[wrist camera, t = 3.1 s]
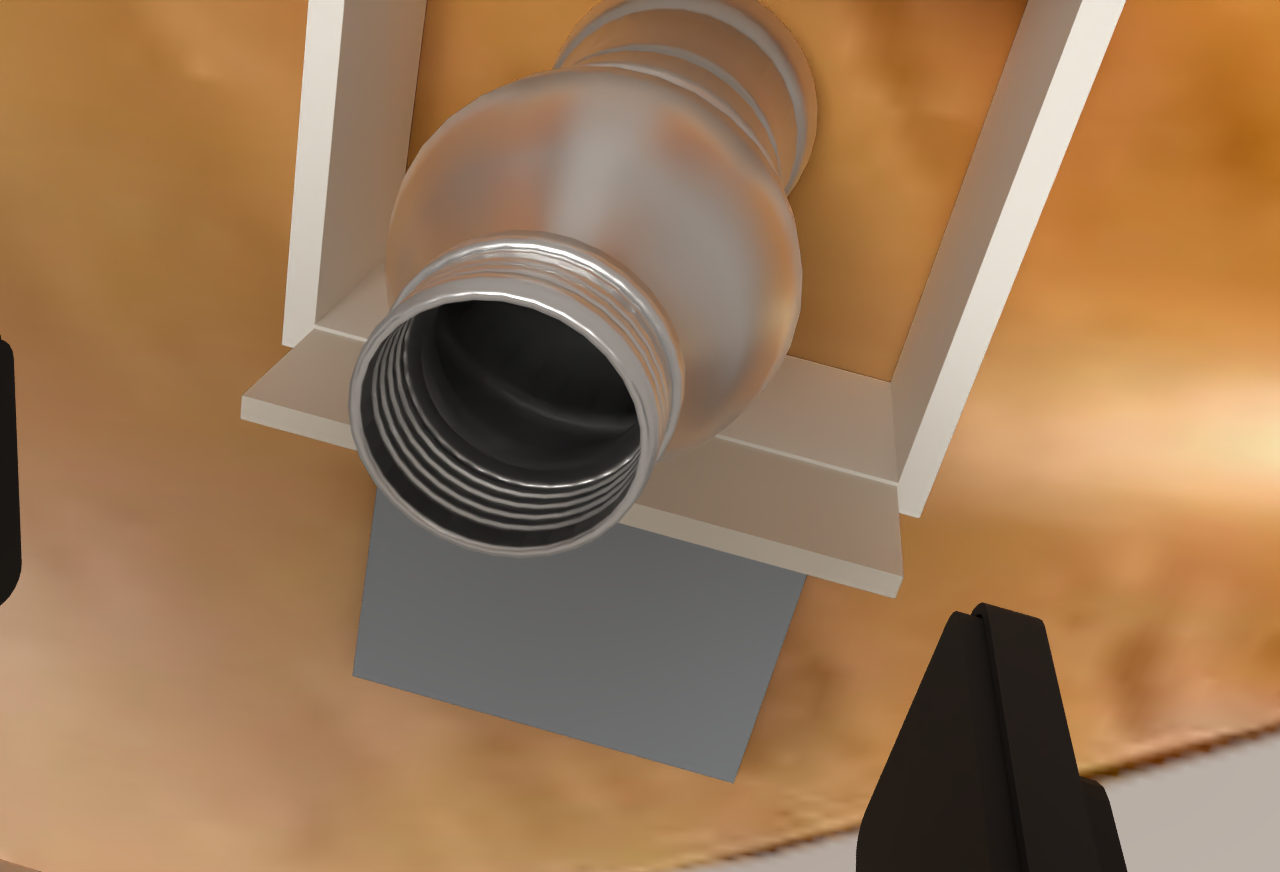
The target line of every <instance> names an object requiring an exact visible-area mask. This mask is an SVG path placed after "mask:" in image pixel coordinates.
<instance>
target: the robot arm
mask: <svg viewBox="0 0 1280 872" xmlns="http://www.w3.org/2000/svg"><path fill="white" fill-rule="evenodd" d="M21 565H22V559H21V533H20V507H19V481H18V455H17V429H16V403H15V377H14V357H13V351H12V349H11V347H10V345H9V344H8V343H7V342H5V341H4V340H1V335H0V605H2V604H3V603H4V602H5V601H6V600H7V599H8V597H9V596H10V595H11V593H12V592H13V590H14V589H15V587H16V584H17V582H18V580H19V577H20V573H21ZM0 872H40V871H37V870H34V869H31V868H27V867H24V866H21V865H18V864H14V863H11V862H8V861H5V860H1V859H0ZM856 872H1127V868H1126V864H1125V860H1124V856H1123V853H1122V849H1121V845H1120V841H1119V837H1118V833H1117V829H1116V825H1115V821H1114V817H1113V813H1112V809H1111V806H1110V802H1109V799H1108V797H1107V794H1106V792H1105V789H1104V787H1103V786H1101V785H1100V784H1099V783H1098V782H1097V781H1095V780H1091V779H1088V778H1084V777H1081V776H1079V772H1078V768H1077V764H1076V759H1075V755H1074V751H1073V746H1072V742H1071V738H1070V733H1069V729H1068V725H1067V720H1066V716H1065V712H1064V707H1063V703H1062V699H1061V694H1060V690H1059V686H1058V681H1057V677H1056V673H1055V668H1054V664H1053V659H1052V655H1051V651H1050V646H1049V642H1048V638H1047V633H1046V629H1045V626H1044V623H1043V621H1042V620H1040V619H1039V618H1036V617H1032V616H1029V615H1025V614H1022V613H1018V612H1014V611H1011V610H1007V609H1004V608H1000V607H997V606H993V605H990V604H986V603H983V602H982V603H980V604H978V605H977V606H976V607H975V609H974V610H973V611H972V613H971V615H969V614H965V613H962V612H958V611H955V612H953V614H952V615H951V616H950V618H949V620H948V622H947V624H946V626H945V628H944V630H943V633H942V635H941V637H940V640H939V642H938V644H937V647H936V649H935V651H934V654H933V656H932V658H931V661H930V663H929V665H928V668H927V670H926V672H925V674H924V677H923V679H922V681H921V684H920V686H919V688H918V691H917V693H916V695H915V698H914V700H913V702H912V705H911V707H910V709H909V712H908V714H907V716H906V719H905V721H904V723H903V725H902V728H901V730H900V732H899V735H898V737H897V739H896V742H895V744H894V746H893V749H892V751H891V753H890V756H889V758H888V760H887V763H886V765H885V767H884V769H883V772H882V774H881V776H880V779H879V781H878V783H877V786H876V788H875V790H874V793H873V795H872V797H871V800H870V802H869V804H868V807H867V809H866V811H865V814H864V817H863V819H862V823H861V827H860V831H859V835H858V841H857V850H856Z"/></svg>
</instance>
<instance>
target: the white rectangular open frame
mask: <svg viewBox="0 0 1280 872" xmlns="http://www.w3.org/2000/svg"><path fill="white" fill-rule="evenodd" d="M1125 1H1126V0H1028V3H1027V5H1026V8H1025V11H1024V14H1023V16H1022V19H1021V22H1020V25H1019V28H1018V30H1017V33H1016V36H1015V39H1014V41H1013V44H1012V47H1011V50H1010V52H1009V55H1008V58H1007V61H1006V64H1005V66H1004V69H1003V72H1002V75H1001V77H1000V80H999V83H998V86H997V89H996V91H995V94H994V97H993V100H992V102H991V105H990V108H989V111H988V114H987V116H986V119H985V122H984V125H983V127H982V130H981V133H980V136H979V138H978V141H977V144H976V147H975V150H974V152H973V155H972V158H971V161H970V163H969V166H968V169H967V172H966V175H965V177H964V180H963V183H962V186H961V188H960V191H959V194H958V197H957V200H956V202H955V205H954V208H953V211H952V213H951V216H950V219H949V222H948V224H947V227H946V230H945V233H944V236H943V238H942V241H941V244H940V247H939V249H938V252H937V255H936V258H935V261H934V263H933V266H932V269H931V272H930V274H929V277H928V280H927V283H926V286H925V288H924V291H923V294H922V297H921V299H920V302H919V305H918V308H917V310H916V313H915V316H914V319H913V322H912V324H911V327H910V330H909V333H908V335H907V338H906V341H905V344H904V347H903V349H902V352H901V355H900V358H899V360H898V363H897V366H896V369H895V372H894V374H893V377H892V380H891V383H890V382H887V381H883V380H879V379H875V378H872V377H868V376H864V375H860V374H857V373H853V372H849V371H846V370H842V369H838V368H834V367H831V366H827V365H823V364H819V363H816V362H812V361H808V360H804V359H801V358H797V357H793V356H790V355H786V356H785V358H784V360H783V362H782V363H781V365H780V367H779V369H778V371H777V373H776V375H775V376H774V378H773V380H772V381H771V382H770V383H769V384H768V386H767V387H766V388H765V389H764V390H763V391H762V393H761V394H760V395H759V396H758V397H757V398H756V400H755V401H754V402H753V403H752V404H751V406H750V407H749V408H748V409H746V410H745V411H744V412H743V413H742V414H741V415H740V416H739V417H738V418H737V419H736V420H734V421H733V422H732V423H731V424H729V425H728V426H727V427H726V428H724V429H723V430H722V431H720V432H719V433H718V434H717V435H715V436H714V437H713V438H711V439H710V440H709V441H708V442H706V443H705V444H703V445H701V446H699V447H697V448H695V449H693V450H691V451H689V452H686V453H684V454H682V455H680V456H678V457H676V458H674V459H671V460H667V461H664V462H660V463H657V464H655V465H654V468H653V471H652V474H651V476H650V478H649V480H648V482H647V484H646V486H645V488H644V490H643V492H642V494H641V496H640V497H639V498H638V499H637V501H636V502H635V503H634V504H633V505H632V507H631V508H630V509H629V510H628V512H627V513H626V514H625V515H624V516H623V518H622V519H621V520H620V521H619V522H618V523H621V524H625V525H628V526H632V527H636V528H639V529H643V530H647V531H650V532H654V533H657V534H661V535H665V536H668V537H672V538H676V539H679V540H683V541H687V542H690V543H694V544H697V545H701V546H705V547H708V548H712V549H716V550H719V551H723V552H727V553H730V554H734V555H737V556H741V557H745V558H748V559H752V560H756V561H759V562H763V563H767V564H770V565H774V566H778V567H781V568H785V569H788V570H792V571H796V572H799V573H803V574H807V575H810V576H814V577H818V578H821V579H825V580H828V581H832V582H836V583H839V584H843V585H847V586H850V587H854V588H858V589H861V590H865V591H868V592H872V593H876V594H879V595H883V596H887V597H890V598H894V599H895V597H896V595H897V592H898V590H899V587H900V585H901V582H902V580H903V577H904V574H903V561H902V547H901V534H900V521H899V513H901V514H905V515H909V516H912V517H916V518H920V515H921V513H922V510H923V508H924V505H925V503H926V500H927V498H928V495H929V493H930V490H931V488H932V485H933V483H934V480H935V478H936V475H937V473H938V470H939V468H940V465H941V463H942V460H943V458H944V455H945V453H946V450H947V448H948V445H949V443H950V440H951V438H952V435H953V433H954V430H955V428H956V425H957V423H958V420H959V418H960V415H961V413H962V410H963V408H964V405H965V403H966V400H967V398H968V395H969V393H970V390H971V388H972V385H973V382H974V380H975V377H976V375H977V372H978V370H979V367H980V365H981V362H982V360H983V357H984V355H985V352H986V350H987V347H988V345H989V342H990V340H991V337H992V335H993V332H994V330H995V327H996V325H997V322H998V320H999V317H1000V315H1001V312H1002V310H1003V307H1004V305H1005V302H1006V300H1007V297H1008V295H1009V292H1010V290H1011V287H1012V285H1013V282H1014V280H1015V277H1016V275H1017V272H1018V270H1019V267H1020V265H1021V262H1022V260H1023V257H1024V255H1025V252H1026V250H1027V247H1028V245H1029V242H1030V240H1031V237H1032V235H1033V232H1034V230H1035V227H1036V224H1037V222H1038V219H1039V217H1040V214H1041V212H1042V209H1043V207H1044V204H1045V202H1046V199H1047V197H1048V194H1049V192H1050V189H1051V187H1052V184H1053V182H1054V179H1055V177H1056V174H1057V172H1058V169H1059V167H1060V164H1061V162H1062V159H1063V157H1064V154H1065V152H1066V149H1067V147H1068V144H1069V142H1070V139H1071V137H1072V134H1073V132H1074V129H1075V127H1076V124H1077V122H1078V119H1079V117H1080V114H1081V112H1082V109H1083V107H1084V104H1085V102H1086V99H1087V97H1088V94H1089V92H1090V89H1091V87H1092V84H1093V82H1094V79H1095V77H1096V74H1097V72H1098V69H1099V67H1100V64H1101V61H1102V59H1103V56H1104V54H1105V51H1106V49H1107V46H1108V44H1109V41H1110V39H1111V36H1112V34H1113V31H1114V29H1115V26H1116V24H1117V21H1118V19H1119V16H1120V14H1121V11H1122V9H1123V6H1124V4H1125ZM426 3H427V0H309V4H308V16H307V29H306V42H305V55H304V68H303V81H302V93H301V106H300V119H299V132H298V145H297V157H296V170H295V183H294V196H293V209H292V222H291V234H290V247H289V260H288V273H287V286H286V298H285V311H284V324H283V337H282V345H284V346H288V347H292V349H291V350H290V351H289V352H288V353H287V354H286V355H285V356H284V357H283V358H282V359H281V360H279V361H278V362H277V363H276V364H275V365H274V366H273V367H272V368H271V369H270V370H269V371H268V372H267V373H265V374H264V375H263V376H262V377H261V378H260V379H259V380H258V381H257V382H256V383H255V384H254V385H252V386H251V387H250V388H249V389H248V390H247V391H246V392H245V393H244V394H243V395H242V401H241V417H240V419H243V420H247V421H250V422H254V423H257V424H261V425H265V426H268V427H272V428H276V429H279V430H283V431H287V432H290V433H294V434H297V435H301V436H305V437H308V438H312V439H316V440H319V441H323V442H327V443H330V444H334V445H337V446H341V447H345V448H348V449H352V450H356V451H357V448H356V445H355V443H354V440H353V437H352V434H351V428H350V420H349V413H348V398H349V386H350V380H351V377H352V374H353V371H354V368H355V365H356V362H357V358H358V356H359V355H360V353H361V349H362V348H363V346H364V345H365V343H366V341H367V340H368V338H369V336H370V335H371V333H372V332H373V330H374V328H375V327H376V326H377V325H378V324H379V323H380V322H381V321H382V320H383V319H384V318H385V317H386V316H387V315H388V313H389V307H388V298H387V289H386V281H385V262H386V251H387V241H388V233H389V226H390V220H391V214H392V211H393V208H394V205H395V202H396V199H397V196H398V192H399V189H400V186H401V183H402V180H403V178H404V176H405V172H406V164H407V156H408V148H409V140H410V132H411V124H412V116H413V108H414V100H415V92H416V84H417V76H418V68H419V60H420V52H421V44H422V36H423V28H424V20H425V11H426Z"/></svg>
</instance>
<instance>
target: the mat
mask: <svg viewBox="0 0 1280 872" xmlns="http://www.w3.org/2000/svg"><path fill="white" fill-rule="evenodd" d="M806 577H807V574H803V573H799V572H796V571H792V570H788V569H785V568H781V567H778V566H774V565H770V564H767V563H763V562H759V561H756V560H752V559H748V558H745V557H741V556H737V555H734V554H730V553H727V552H723V551H719V550H716V549H712V548H708V547H705V546H701V545H697V544H694V543H690V542H687V541H683V540H679V539H676V538H672V537H668V536H665V535H661V534H657V533H654V532H650V531H647V530H643V529H639V528H636V527H632V526H628V525H625V524H621V523H617V524H616V525H614V526H613V527H612V528H610V529H609V530H608V531H607V532H605V533H604V534H603V535H601V536H600V537H599V538H597V539H595V540H593V541H591V542H589V543H586V544H584V545H582V546H580V547H578V548H576V549H573V550H570V551H566V552H562V553H558V554H554V555H551V556H542V557H530V558H513V557H501V556H492V555H488V554H484V553H480V552H476V551H472V550H468V549H464V548H462V547H459V546H457V545H455V544H452V543H450V542H448V541H445V540H443V539H440V538H438V537H437V536H435V535H433V534H432V533H430V532H428V531H427V530H425V529H424V528H422V527H420V526H419V525H417V524H415V523H414V522H413V521H411V520H410V519H409V518H408V517H407V516H406V515H404V514H403V513H402V512H401V511H400V510H399V509H397V508H396V507H395V506H394V505H393V504H392V503H391V502H390V501H389V500H388V498H387V497H386V496H385V495H384V494H383V493H382V491H381V490H380V489H379V488H378V487H377V491H376V499H375V507H374V514H373V522H372V530H371V537H370V545H369V553H368V561H367V568H366V576H365V584H364V591H363V599H362V607H361V615H360V622H359V630H358V638H357V646H356V653H355V661H354V669H353V676H355V677H358V678H362V679H366V680H369V681H373V682H376V683H380V684H383V685H387V686H390V687H394V688H397V689H401V690H405V691H408V692H412V693H415V694H419V695H422V696H426V697H429V698H433V699H436V700H440V701H443V702H447V703H451V704H454V705H458V706H461V707H465V708H468V709H472V710H475V711H479V712H482V713H486V714H490V715H493V716H497V717H500V718H504V719H507V720H511V721H514V722H518V723H521V724H525V725H528V726H532V727H536V728H539V729H543V730H546V731H550V732H553V733H557V734H560V735H564V736H567V737H571V738H575V739H578V740H582V741H585V742H589V743H592V744H596V745H599V746H603V747H606V748H610V749H613V750H617V751H621V752H624V753H628V754H631V755H635V756H638V757H642V758H645V759H649V760H652V761H656V762H660V763H663V764H667V765H670V766H674V767H677V768H681V769H684V770H688V771H691V772H695V773H699V774H702V775H706V776H709V777H713V778H716V779H720V780H723V781H727V782H730V783H734V780H735V778H736V775H737V772H738V769H739V766H740V763H741V761H742V758H743V755H744V752H745V749H746V746H747V744H748V741H749V738H750V735H751V732H752V729H753V727H754V724H755V721H756V718H757V715H758V712H759V710H760V707H761V704H762V701H763V698H764V695H765V693H766V690H767V687H768V684H769V681H770V678H771V676H772V673H773V670H774V667H775V664H776V661H777V659H778V656H779V653H780V650H781V647H782V644H783V642H784V639H785V636H786V633H787V630H788V628H789V625H790V622H791V619H792V616H793V613H794V611H795V608H796V605H797V602H798V599H799V596H800V594H801V591H802V588H803V585H804V582H805V579H806Z"/></svg>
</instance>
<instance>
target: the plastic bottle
mask: <svg viewBox="0 0 1280 872" xmlns="http://www.w3.org/2000/svg"><path fill="white" fill-rule="evenodd" d="M817 115H818V104H817V97H816V90H815V83H814V79H813V76H812V73H811V70H810V68H809V65H808V62H807V59H806V57H805V54H804V53H803V51H802V49H801V48H800V46H799V45H798V43H797V41H796V40H795V38H794V36H793V35H792V33H791V32H790V30H789V29H788V28H787V27H786V26H785V25H784V24H783V23H782V22H781V21H780V20H779V19H778V18H777V16H776V15H775V14H774V13H773V12H772V11H771V10H769V9H768V8H767V7H765V6H764V5H762V4H761V3H760V2H758V1H757V0H603V1H602V2H600V3H599V4H597V5H596V6H594V7H593V8H592V9H591V10H590V11H589V12H588V13H587V14H586V15H585V16H584V17H583V18H582V19H581V20H580V21H579V23H578V24H577V25H576V26H575V27H574V28H573V30H572V31H571V33H570V35H569V36H568V38H567V39H566V41H565V43H564V44H563V46H562V47H561V49H560V51H559V54H558V56H557V59H556V61H555V64H554V66H553V69H552V70H548V71H543V72H537V73H533V74H531V75H528V76H526V77H523V78H521V79H518V80H516V81H513V82H511V83H508V84H506V85H504V86H501V87H499V88H497V89H495V90H493V91H491V92H489V93H486V94H484V95H482V96H480V97H479V98H477V99H476V100H474V101H473V102H471V103H470V104H468V105H467V106H465V107H464V108H462V109H461V110H459V111H458V112H457V113H455V114H454V115H452V116H451V117H449V118H448V119H447V120H446V121H445V122H444V123H443V124H442V125H441V127H440V128H439V129H438V130H437V131H436V132H435V133H434V134H433V135H432V136H431V137H430V138H429V139H428V140H427V141H426V143H425V144H424V145H423V146H422V147H421V149H420V151H419V152H418V154H417V156H416V157H415V159H414V161H413V162H412V164H411V166H410V168H409V169H408V171H407V173H406V174H405V176H404V178H403V180H402V183H401V186H400V189H399V192H398V196H397V199H396V202H395V205H394V208H393V211H392V214H391V220H390V226H389V233H388V241H387V251H386V262H385V281H386V289H387V298H388V307H389V313H388V315H387V316H386V317H385V318H384V319H383V320H382V321H381V322H380V323H379V324H378V325H377V326H376V327H375V328H374V330H373V332H372V333H371V335H370V336H369V338H368V340H367V341H366V343H365V345H364V346H363V348H362V349H361V353H360V355H359V356H358V358H357V362H356V365H355V368H354V371H353V374H352V377H351V380H350V386H349V398H348V413H349V420H350V428H351V434H352V437H353V440H354V443H355V445H356V448H357V451H358V454H359V457H360V459H361V461H362V463H363V464H364V466H365V468H366V470H367V471H368V473H369V475H370V476H371V478H372V480H373V482H374V483H375V484H376V485H377V487H378V488H379V489H380V490H381V491H382V493H383V494H384V495H385V496H386V497H387V498H388V500H389V501H390V502H391V503H392V504H393V505H394V506H395V507H396V508H397V509H399V510H400V511H401V512H402V513H403V514H404V515H406V516H407V517H408V518H409V519H410V520H411V521H413V522H414V523H415V524H417V525H419V526H420V527H422V528H424V529H425V530H427V531H428V532H430V533H432V534H433V535H435V536H437V537H438V538H440V539H443V540H445V541H448V542H450V543H452V544H455V545H457V546H459V547H462V548H464V549H468V550H472V551H476V552H480V553H484V554H488V555H492V556H501V557H513V558H530V557H542V556H551V555H554V554H558V553H562V552H566V551H570V550H573V549H576V548H578V547H580V546H582V545H584V544H586V543H589V542H591V541H593V540H595V539H597V538H599V537H600V536H601V535H603V534H604V533H605V532H607V531H608V530H609V529H610V528H612V527H613V526H614V525H616V524H617V523H618V522H619V521H620V520H621V519H622V518H623V516H624V515H625V514H626V513H627V512H628V510H629V509H630V508H631V507H632V505H633V504H634V503H635V502H636V501H637V499H638V498H639V497H640V496H641V494H642V492H643V490H644V488H645V486H646V484H647V482H648V480H649V478H650V476H651V474H652V471H653V468H654V465H655V464H657V463H660V462H664V461H667V460H671V459H674V458H676V457H678V456H680V455H682V454H684V453H686V452H689V451H691V450H693V449H695V448H697V447H699V446H701V445H703V444H705V443H706V442H708V441H709V440H710V439H711V438H713V437H714V436H715V435H717V434H718V433H719V432H720V431H722V430H723V429H724V428H726V427H727V426H728V425H729V424H731V423H732V422H733V421H734V420H736V419H737V418H738V417H739V416H740V415H741V414H742V413H743V412H744V411H745V410H746V409H748V408H749V407H750V406H751V404H752V403H753V402H754V401H755V400H756V398H757V397H758V396H759V395H760V394H761V393H762V391H763V390H764V389H765V388H766V387H767V386H768V384H769V383H770V382H771V381H772V380H773V378H774V376H775V375H776V373H777V371H778V369H779V367H780V365H781V363H782V362H783V360H784V358H785V356H786V354H787V352H788V350H789V349H790V347H791V344H792V340H793V336H794V333H795V329H796V325H797V322H798V318H799V315H800V311H801V295H802V277H803V270H802V264H801V254H800V248H799V242H798V235H797V229H796V223H795V217H794V214H793V212H792V209H791V206H790V204H789V201H788V199H787V197H788V195H789V194H790V193H791V191H792V190H793V188H794V187H795V185H796V184H797V183H798V181H799V179H800V177H801V175H802V173H803V171H804V169H805V167H806V165H807V163H808V161H809V159H810V156H811V152H812V148H813V144H814V141H815V137H816V133H817Z"/></svg>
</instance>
